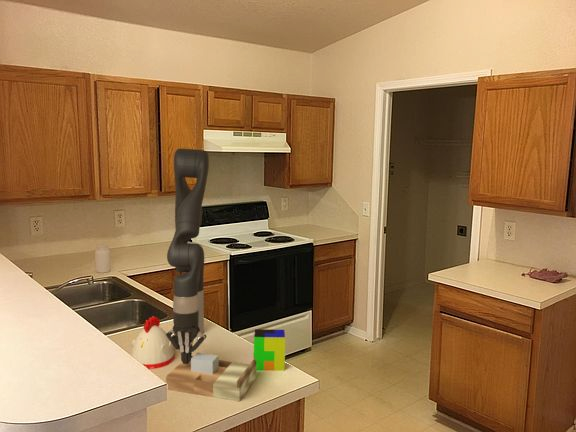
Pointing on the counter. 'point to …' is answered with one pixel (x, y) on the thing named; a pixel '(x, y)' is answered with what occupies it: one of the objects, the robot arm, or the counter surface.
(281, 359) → the puzzle toy
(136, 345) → the kitchen timer
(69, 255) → the counter surface
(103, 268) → the pill bottle
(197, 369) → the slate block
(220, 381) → the board
